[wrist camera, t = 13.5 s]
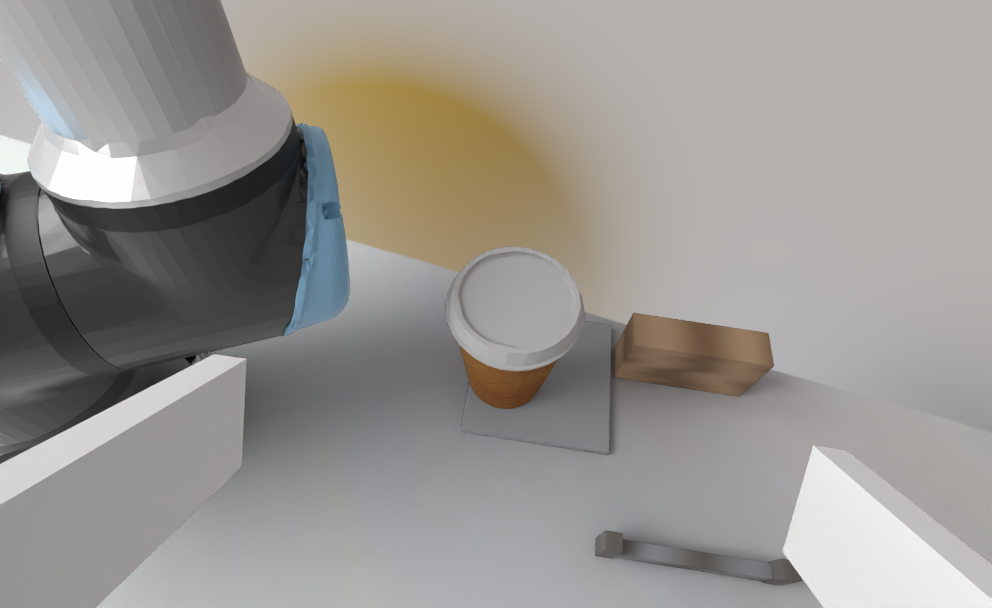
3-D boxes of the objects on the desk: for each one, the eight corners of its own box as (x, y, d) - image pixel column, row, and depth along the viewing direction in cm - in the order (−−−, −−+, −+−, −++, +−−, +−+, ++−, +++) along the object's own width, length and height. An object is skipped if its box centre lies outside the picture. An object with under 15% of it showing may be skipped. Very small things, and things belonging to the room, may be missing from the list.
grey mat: (460, 431, 43) (460, 429, 42) (482, 308, 49) (482, 305, 49) (607, 454, 43) (608, 452, 42) (609, 328, 49) (611, 324, 49)
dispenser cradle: (595, 555, 38) (616, 542, 33) (601, 345, 48) (618, 310, 43) (779, 585, 38) (828, 576, 33) (748, 368, 48) (783, 335, 43)
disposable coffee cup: (490, 450, 41) (499, 388, 31) (428, 360, 46) (418, 278, 35) (583, 389, 45) (617, 314, 35) (517, 309, 49) (531, 222, 39)
